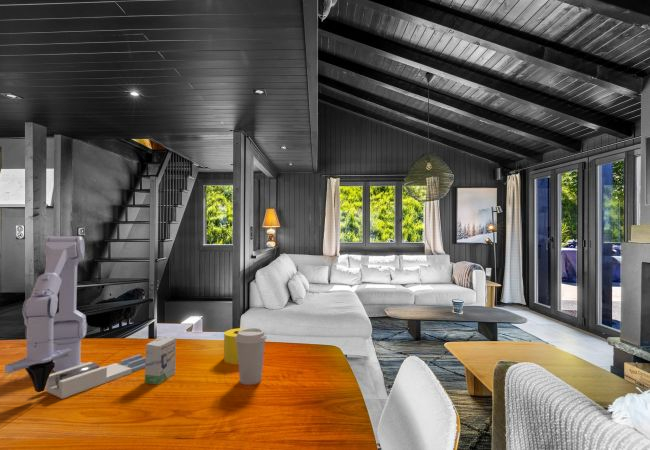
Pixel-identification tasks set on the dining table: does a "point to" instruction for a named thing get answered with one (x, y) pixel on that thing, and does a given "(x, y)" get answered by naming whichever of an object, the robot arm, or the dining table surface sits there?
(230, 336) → the yellow cylinder
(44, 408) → the dining table surface
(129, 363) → the cradle
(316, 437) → the dining table surface
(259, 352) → the coffee cup
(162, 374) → the ink box
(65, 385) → the white channel tray
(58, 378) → the axle
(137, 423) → the dining table surface
